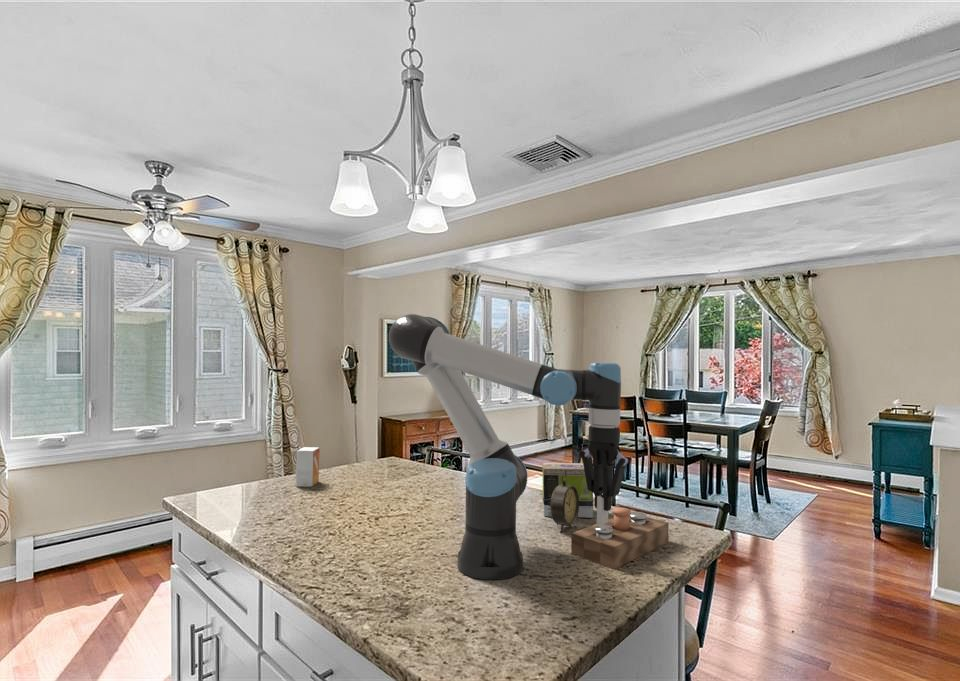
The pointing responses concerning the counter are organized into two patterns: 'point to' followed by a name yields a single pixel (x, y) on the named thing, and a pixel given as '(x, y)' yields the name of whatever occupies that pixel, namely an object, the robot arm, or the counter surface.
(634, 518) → the grey plug far
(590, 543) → the walnut block
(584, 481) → the tea box
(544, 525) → the counter surface
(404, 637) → the counter surface
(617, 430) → the robot arm
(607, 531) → the grey plug near
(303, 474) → the small box
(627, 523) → the terracotta plug
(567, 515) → the alarm clock
